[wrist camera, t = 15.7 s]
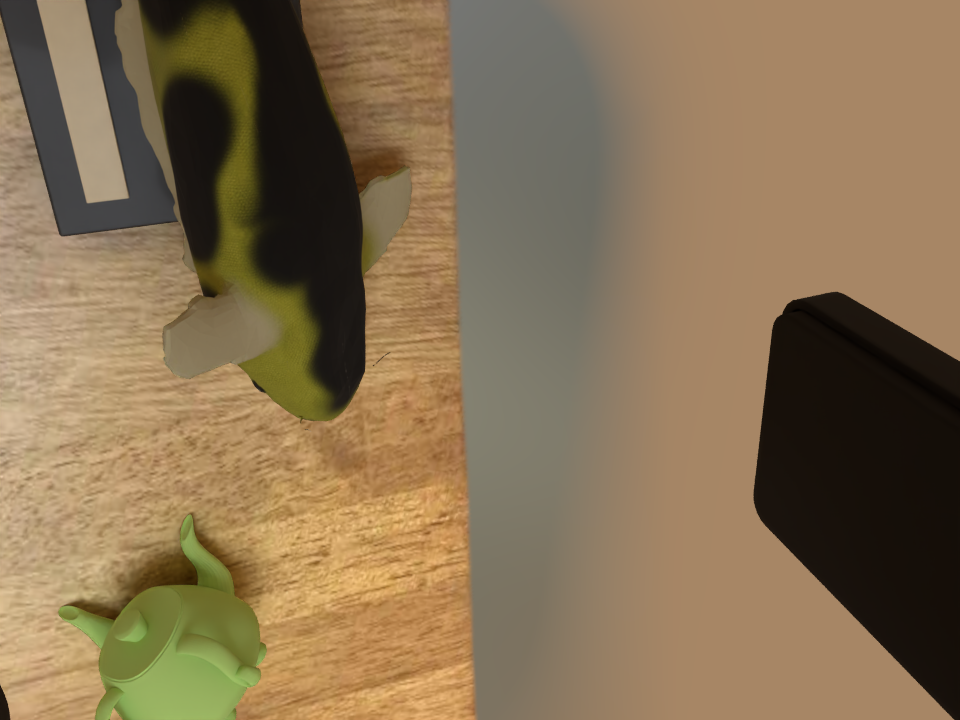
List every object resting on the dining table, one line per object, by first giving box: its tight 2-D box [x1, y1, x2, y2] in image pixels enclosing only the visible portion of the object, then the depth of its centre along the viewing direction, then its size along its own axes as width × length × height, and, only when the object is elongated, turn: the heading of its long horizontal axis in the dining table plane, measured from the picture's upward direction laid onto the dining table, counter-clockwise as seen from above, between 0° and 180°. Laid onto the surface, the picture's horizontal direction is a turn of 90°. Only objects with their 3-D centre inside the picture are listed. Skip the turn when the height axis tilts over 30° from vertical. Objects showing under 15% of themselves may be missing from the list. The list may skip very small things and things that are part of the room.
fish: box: [115, 0, 412, 430], centre depth 22 cm, size 11×24×10 cm
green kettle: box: [58, 514, 267, 720], centre depth 33 cm, size 6×5×6 cm
